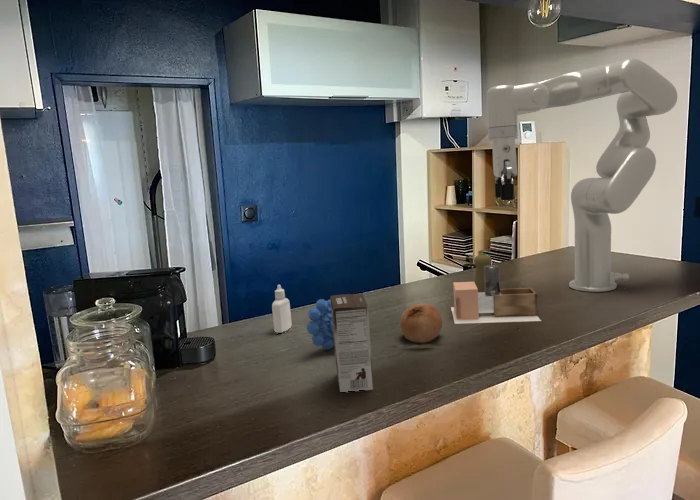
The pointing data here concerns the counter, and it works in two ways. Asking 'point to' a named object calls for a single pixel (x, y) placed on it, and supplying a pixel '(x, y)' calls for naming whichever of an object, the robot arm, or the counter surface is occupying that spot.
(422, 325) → the onion
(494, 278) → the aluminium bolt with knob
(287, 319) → the eye dropper bottle
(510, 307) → the walnut sleeve
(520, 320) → the grey base board
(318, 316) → the grapes
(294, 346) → the counter surface
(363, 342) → the coffee box
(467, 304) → the terracotta socket
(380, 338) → the counter surface
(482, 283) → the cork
